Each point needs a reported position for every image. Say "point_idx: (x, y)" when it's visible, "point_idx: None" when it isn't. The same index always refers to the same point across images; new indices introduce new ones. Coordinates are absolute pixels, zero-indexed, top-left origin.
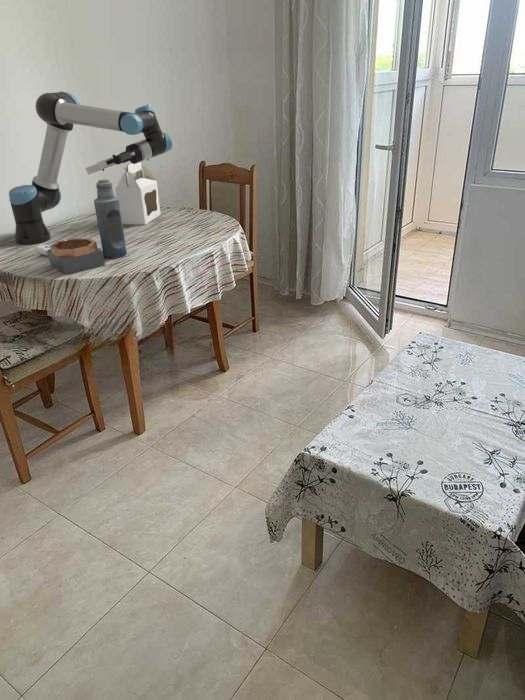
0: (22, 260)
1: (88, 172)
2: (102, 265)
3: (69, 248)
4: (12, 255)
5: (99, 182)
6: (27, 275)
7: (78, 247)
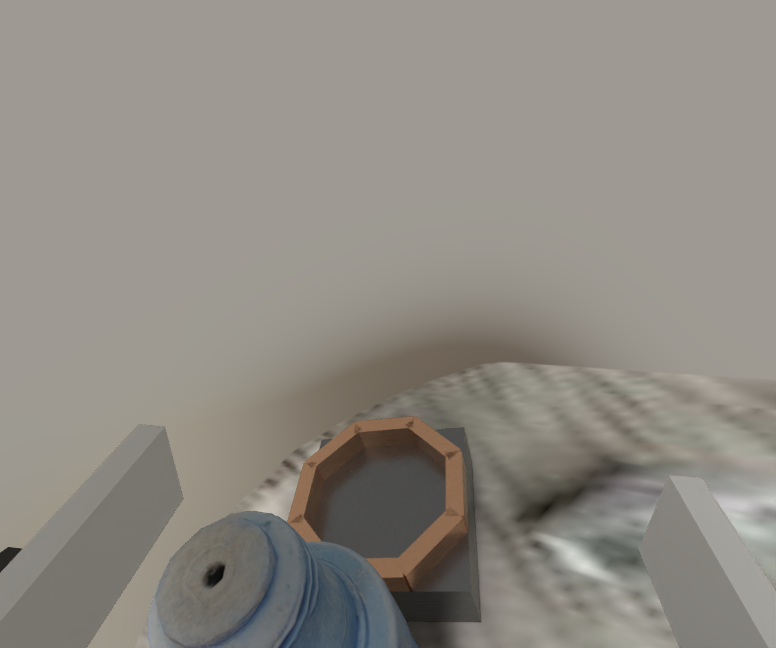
0: (587, 405)
1: (649, 535)
2: None
3: (421, 493)
4: (680, 390)
5: (222, 524)
6: (417, 396)
7: (407, 527)
